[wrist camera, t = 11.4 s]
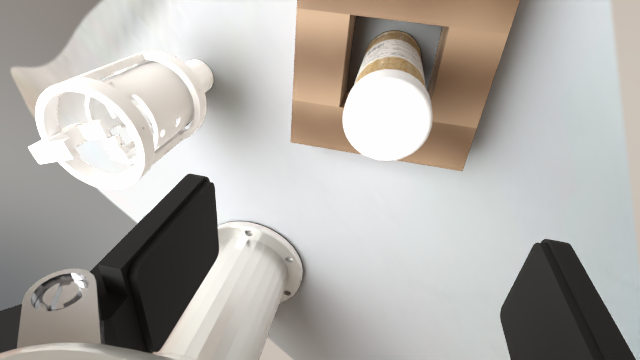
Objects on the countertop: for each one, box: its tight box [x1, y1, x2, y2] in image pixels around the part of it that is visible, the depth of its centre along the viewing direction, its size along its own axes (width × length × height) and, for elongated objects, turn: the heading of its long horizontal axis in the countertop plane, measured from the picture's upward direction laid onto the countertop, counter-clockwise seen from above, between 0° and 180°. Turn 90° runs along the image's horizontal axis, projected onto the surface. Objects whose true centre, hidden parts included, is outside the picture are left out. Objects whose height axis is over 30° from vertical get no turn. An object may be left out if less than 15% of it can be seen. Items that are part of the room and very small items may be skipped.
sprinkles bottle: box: [343, 31, 433, 161], centre depth 24 cm, size 5×5×13 cm
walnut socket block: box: [291, 0, 520, 171], centre depth 28 cm, size 14×14×4 cm
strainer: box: [28, 50, 213, 190], centre depth 28 cm, size 7×7×15 cm
